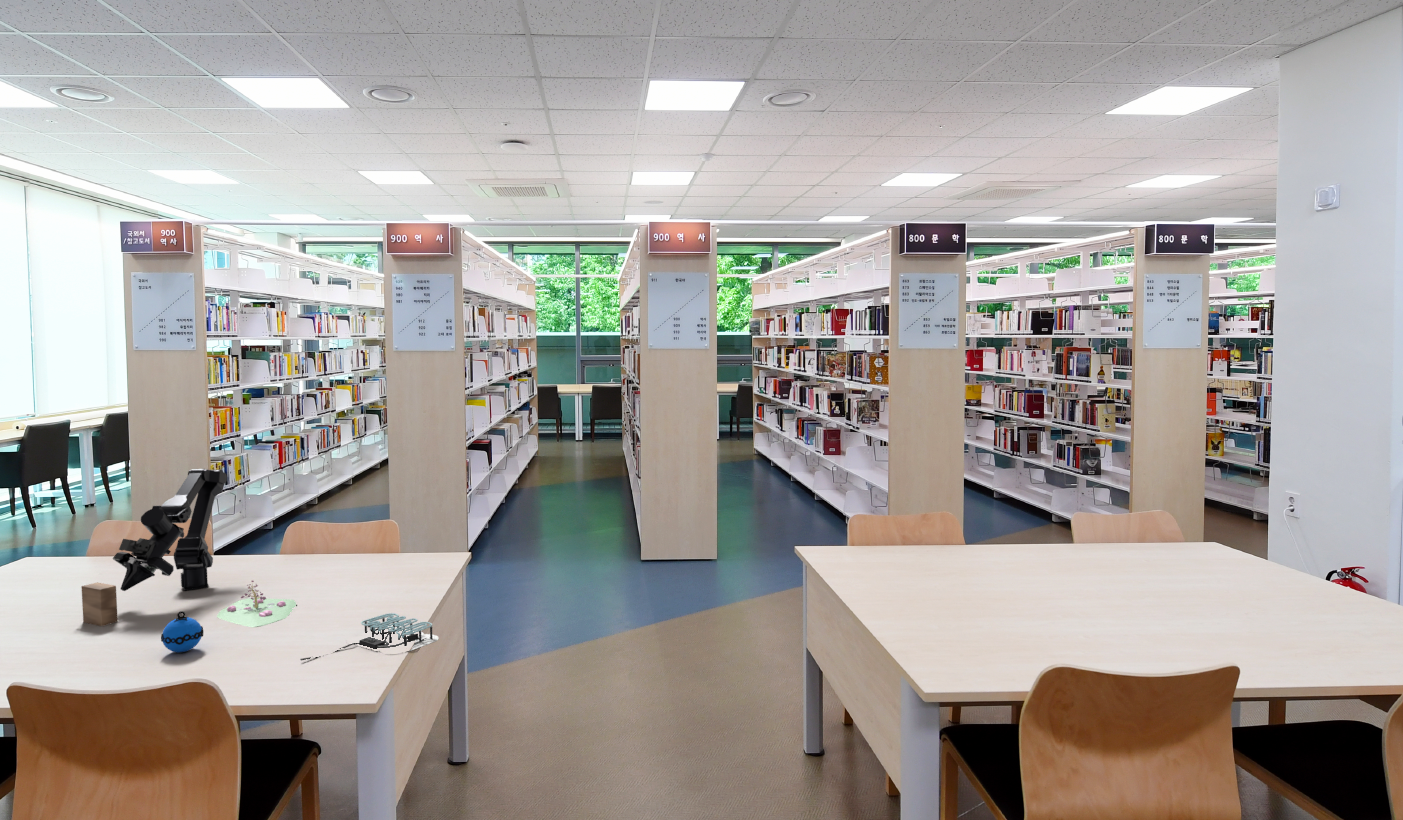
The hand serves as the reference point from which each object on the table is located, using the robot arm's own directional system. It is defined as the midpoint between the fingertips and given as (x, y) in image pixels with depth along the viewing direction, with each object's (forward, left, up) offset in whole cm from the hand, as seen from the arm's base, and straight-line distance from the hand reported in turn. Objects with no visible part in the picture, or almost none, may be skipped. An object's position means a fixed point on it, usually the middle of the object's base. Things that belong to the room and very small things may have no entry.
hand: (122, 590), depth 225 cm
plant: (-31, +20, -8) cm, 37 cm away
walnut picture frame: (+5, +3, -7) cm, 9 cm away
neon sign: (-48, +66, -8) cm, 82 cm away
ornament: (-11, +42, -7) cm, 44 cm away
